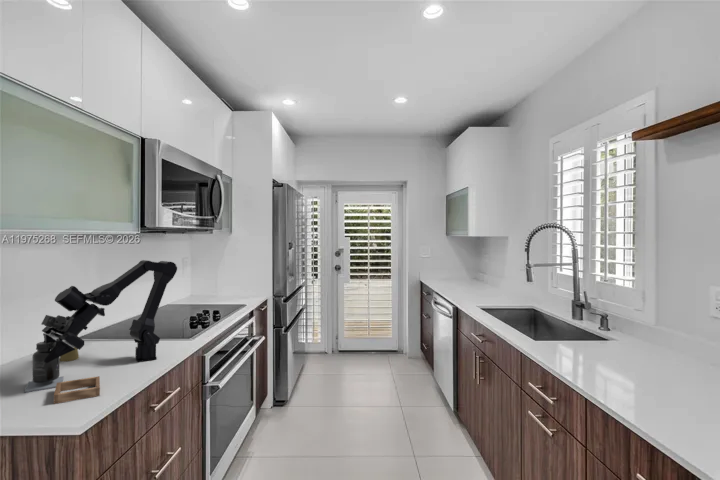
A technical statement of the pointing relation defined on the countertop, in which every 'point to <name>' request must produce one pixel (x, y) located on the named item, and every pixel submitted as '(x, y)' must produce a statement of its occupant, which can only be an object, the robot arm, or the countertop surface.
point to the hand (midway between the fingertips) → (40, 360)
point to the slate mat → (42, 385)
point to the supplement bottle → (44, 363)
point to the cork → (70, 356)
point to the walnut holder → (78, 393)
